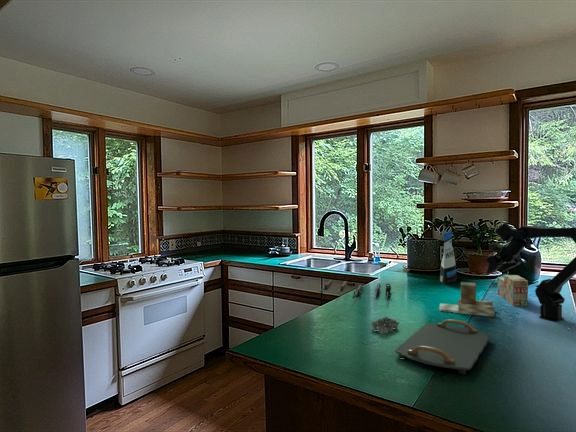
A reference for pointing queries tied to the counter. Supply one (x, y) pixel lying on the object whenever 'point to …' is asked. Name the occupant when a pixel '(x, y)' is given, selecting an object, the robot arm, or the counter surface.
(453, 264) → the protein powder
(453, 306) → the chute
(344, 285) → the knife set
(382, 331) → the bumpy grey rock
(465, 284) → the walnut block
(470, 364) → the serving board
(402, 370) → the counter surface
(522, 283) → the stack of blocks
